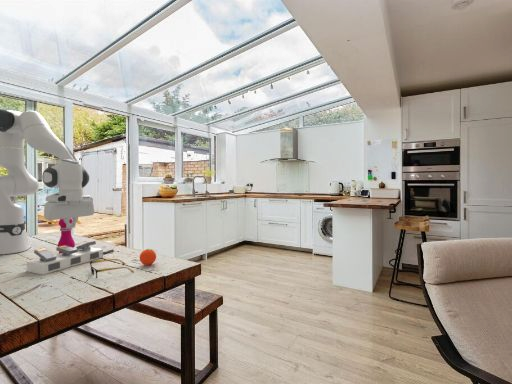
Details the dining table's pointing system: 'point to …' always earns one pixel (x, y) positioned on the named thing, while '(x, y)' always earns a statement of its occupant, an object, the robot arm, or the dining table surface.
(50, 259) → the block
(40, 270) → the power strip
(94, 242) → the rocker
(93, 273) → the eyeglasses
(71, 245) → the pepper mill
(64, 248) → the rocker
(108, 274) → the dining table surface
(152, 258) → the clementine
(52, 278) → the dining table surface
